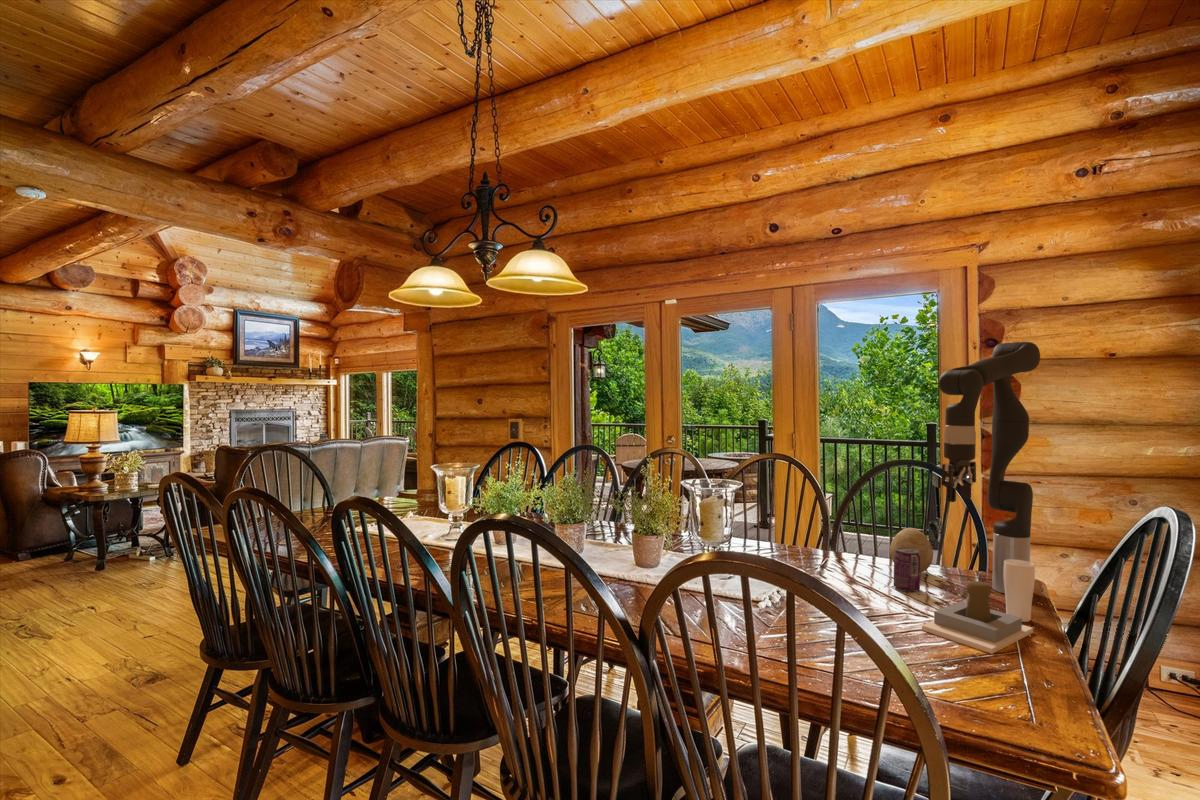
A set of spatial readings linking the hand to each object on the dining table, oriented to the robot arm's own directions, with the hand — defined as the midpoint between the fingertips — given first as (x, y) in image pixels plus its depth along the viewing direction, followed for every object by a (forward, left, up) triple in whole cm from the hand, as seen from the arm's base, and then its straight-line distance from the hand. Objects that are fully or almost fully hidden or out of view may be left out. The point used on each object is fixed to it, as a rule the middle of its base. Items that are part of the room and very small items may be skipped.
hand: (958, 499), depth 164 cm
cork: (+12, +11, -29) cm, 33 cm away
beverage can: (-3, -16, -30) cm, 34 cm away
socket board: (+13, +11, -30) cm, 35 cm away
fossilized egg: (-20, -24, -30) cm, 44 cm away
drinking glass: (-5, +13, -30) cm, 33 cm away
